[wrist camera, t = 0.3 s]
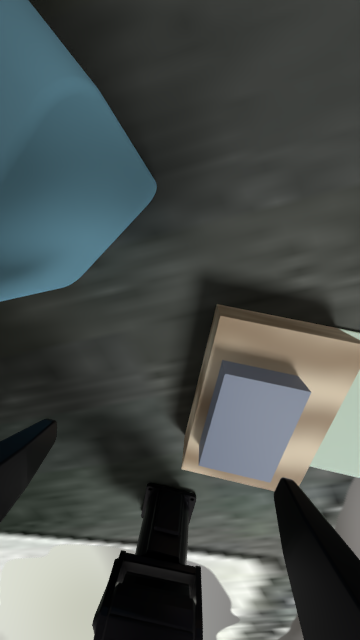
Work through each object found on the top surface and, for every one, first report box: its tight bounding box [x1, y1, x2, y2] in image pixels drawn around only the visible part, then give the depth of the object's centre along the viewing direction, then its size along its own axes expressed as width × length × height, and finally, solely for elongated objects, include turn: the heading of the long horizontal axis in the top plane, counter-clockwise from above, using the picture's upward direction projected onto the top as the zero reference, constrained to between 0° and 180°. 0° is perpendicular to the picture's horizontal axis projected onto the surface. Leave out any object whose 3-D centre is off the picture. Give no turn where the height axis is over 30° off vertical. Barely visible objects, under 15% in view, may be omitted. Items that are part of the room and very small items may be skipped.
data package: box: [0, 0, 157, 302], centre depth 12 cm, size 12×4×12 cm, turn 131°
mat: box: [310, 328, 360, 478], centre depth 21 cm, size 16×9×1 cm, turn 170°
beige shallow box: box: [182, 304, 360, 491], centre depth 19 cm, size 16×11×4 cm
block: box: [199, 360, 311, 483], centre depth 17 cm, size 9×6×2 cm, turn 170°
